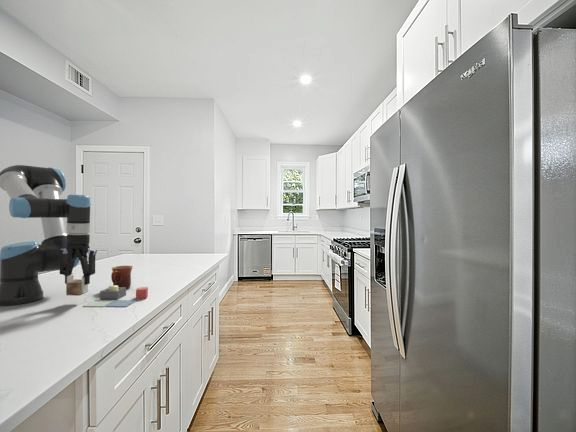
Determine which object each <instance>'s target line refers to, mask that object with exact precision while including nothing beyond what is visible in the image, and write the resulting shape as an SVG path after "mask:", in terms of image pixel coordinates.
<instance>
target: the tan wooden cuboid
mask: <svg viewBox="0 0 576 432" xmlns="http://www.w3.org/2000/svg"><path fill="white" fill-rule="evenodd" d="M65 285H66V288H65V291H66V292H65V293H66V296H77V297H78V296H82V295H84V294H85V293H81V288H82V279H75V278H74V279H73V280H72V281H70V282H67V283H66V284H65Z"/></svg>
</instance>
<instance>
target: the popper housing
mask: <svg viewBox="0 0 576 432" xmlns="http://www.w3.org/2000/svg"><path fill="white" fill-rule="evenodd" d="M125 296H127V289H126V287H118V290H116V291H109V287H107V288H104V289H102V290H100V293H99V300H115V301H116V300H121V298H123V297H125Z"/></svg>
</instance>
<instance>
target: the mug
mask: <svg viewBox="0 0 576 432" xmlns="http://www.w3.org/2000/svg"><path fill="white" fill-rule="evenodd" d="M132 270H133V266H132V265H116V266H112V267H111V271H112V272H111V276H110V277H111V282H112V286H113V285H118V287H126V290H129V289H131V286H132Z"/></svg>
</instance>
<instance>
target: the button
mask: <svg viewBox="0 0 576 432" xmlns="http://www.w3.org/2000/svg"><path fill="white" fill-rule="evenodd" d="M108 288H109V291H116V290H118V285H113V284H112V285H109V286H108Z"/></svg>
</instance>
